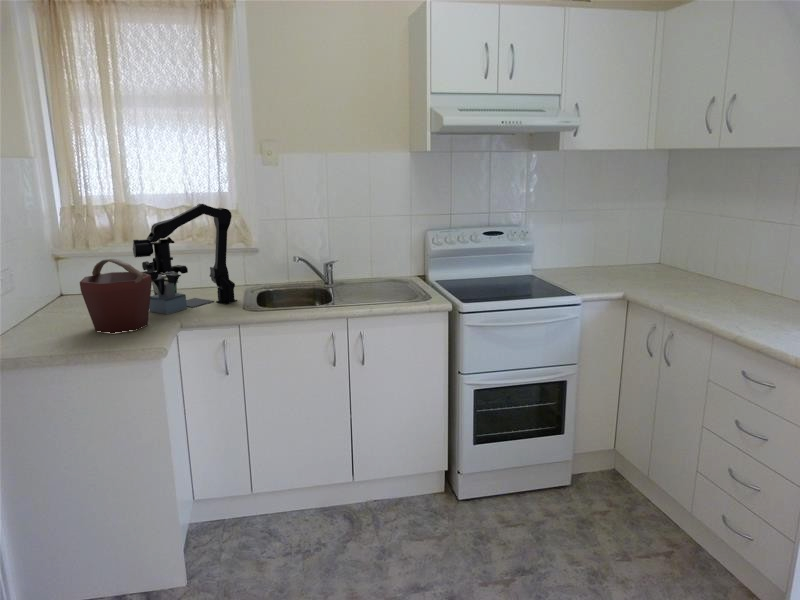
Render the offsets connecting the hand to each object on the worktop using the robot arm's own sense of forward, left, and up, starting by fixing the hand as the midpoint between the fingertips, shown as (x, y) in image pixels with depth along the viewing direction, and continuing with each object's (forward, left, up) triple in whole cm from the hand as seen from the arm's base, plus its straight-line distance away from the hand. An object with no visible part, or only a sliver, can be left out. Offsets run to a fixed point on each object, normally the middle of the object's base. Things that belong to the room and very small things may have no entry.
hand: (166, 293), depth 231 cm
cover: (0, 0, -7) cm, 7 cm away
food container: (+15, -13, -7) cm, 21 cm away
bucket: (-6, +26, -7) cm, 28 cm away
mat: (0, -13, -7) cm, 15 cm away
